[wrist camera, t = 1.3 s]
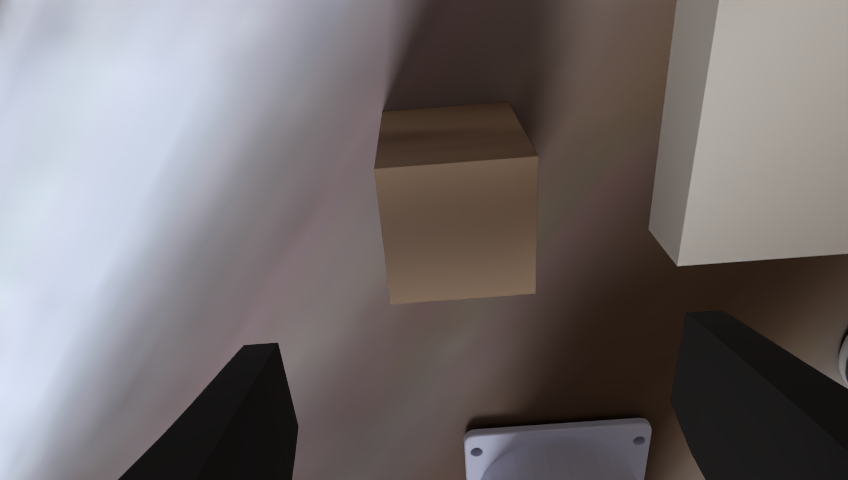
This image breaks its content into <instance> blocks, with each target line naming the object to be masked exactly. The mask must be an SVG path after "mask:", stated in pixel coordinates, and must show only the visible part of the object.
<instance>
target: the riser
mask: <svg viewBox="0 0 848 480" xmlns="http://www.w3.org/2000/svg"><path fill="white" fill-rule="evenodd" d="M648 229H649V231H650V232H651V233H652V235H653V236H654V237H655V238H656V240H657V241H658V242H659V244H660V245H661V246H662V247H663V249H664V250H665V251H666V253H667V254H668V255H669V256H670V258H671V259H672V260H673V262H674V263H675V264H676V265H677V266H688V265H701V264H715V263H728V262H741V261H755V260H768V259H782V258H795V257H809V256H822V255H836V254H848V0H677V4H676V12H675V20H674V28H673V36H672V44H671V52H670V60H669V68H668V76H667V84H666V92H665V100H664V108H663V116H662V124H661V132H660V140H659V148H658V156H657V164H656V172H655V180H654V188H653V196H652V204H651V212H650V220H649V228H648Z"/></svg>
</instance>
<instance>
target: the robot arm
mask: <svg viewBox="0 0 848 480" xmlns="http://www.w3.org/2000/svg"><path fill="white" fill-rule="evenodd" d="M671 402H672V405H673V408H674V410H675V413H676V416H677V418H678V421H679V424H680V426H681V429H682V431H683V434H684V436H685V439H686V441H687V444H688V446H689V449H690V451H691V453H692V455H693V457H694V459H695V461H696V463H697V465H698V467H699V468H700V470H701V472H702V474H703V476H704V478H705V480H848V389H847V388H845V387H844V386H842V385H840V384H839V383H837V382H835V381H834V380H832V379H831V378H829V377H827V376H826V375H824V374H822V373H821V372H819V371H818V370H816V369H814V368H813V367H811V366H810V365H808V364H806V363H805V362H803V361H802V360H800V359H799V358H797V357H795V356H794V355H792V354H791V353H789V352H788V351H786V350H784V349H783V348H781V347H780V346H778V345H777V344H775V343H774V342H772V341H770V340H769V339H767V338H766V337H764V336H763V335H761V334H759V333H758V332H756V331H755V330H753V329H751V328H750V327H748V326H747V325H745V324H743V323H742V322H740V321H739V320H737V319H735V318H734V317H732V316H730V315H728V314H727V313H725V312H723V311H721V310H720V311H706V312H693V313H686V316H685V322H684V327H683V333H682V339H681V344H680V350H679V356H678V361H677V367H676V373H675V378H674V384H673V390H672V395H671ZM651 433H652V428H651V426H650V424H649V422H648V421H647V420H646V419H644V418H629V419H615V420H600V421H586V422H572V423H558V424H543V425H529V426H515V427H501V428H487V429H474V430H470V431H469V432H467V433H466V434H465V436H464V448H465V466H466V480H644V476H645V470H646V464H647V458H648V451H649V445H650V439H651ZM297 434H298V423H297V419H296V415H295V411H294V406H293V402H292V398H291V394H290V390H289V386H288V382H287V378H286V374H285V370H284V366H283V362H282V357H281V353H280V349H279V345H278V343H268V344H254V345H244V346H243V347H242V348H241V349H240V350H239V351H238V352H237V353H236V354H235V356H234V357H233V358H232V359H231V360H230V361H229V362H228V363H227V364H226V366H225V367H224V368H223V369H222V370H221V371H220V372H219V373H218V375H217V376H216V377H215V378H214V379H213V380H212V381H211V382H210V384H209V385H208V386H207V387H206V388H205V389H204V390H203V391H202V393H201V394H200V395H199V396H198V397H197V398H196V399H195V400H194V402H193V403H192V404H191V405H190V406H189V407H188V408H187V409H186V410H185V411H184V412H183V414H182V415H181V416H180V417H179V418H178V419H177V420H176V421H175V422H174V423H173V424H172V425H171V427H170V428H169V429H168V430H167V431H166V432H165V433H164V434H163V435H162V436H161V437H160V438H159V439H158V440H157V441H156V442H155V443H154V444H153V445H152V446H151V447H150V448H149V449H148V450H147V451H146V452H145V453H144V454H143V455H142V456H141V457H140V458H139V459H138V460H137V461H136V462H135V463H134V464H133V465H132V466H131V467H130V468H129V469H128V470H127V471H126V472H125V473H124V474H123V475H122V476H121V477H120V478H119V479H118V480H292V475H293V467H294V460H295V452H296V443H297ZM636 437H638V438H636ZM474 448H479V449H474Z"/></svg>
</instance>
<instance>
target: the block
mask: <svg viewBox="0 0 848 480" xmlns="http://www.w3.org/2000/svg"><path fill="white" fill-rule="evenodd" d="M374 172H375V180H376V188H377V196H378V205H379V213H380V221H381V229H382V237H383V246H384V254H385V262H386V270H387V278H388V286H389V295H390V303H391V304H400V303H414V302H427V301H441V300H455V299H468V298H482V297H495V296H509V295H522V294H535V289H536V244H537V199H538V155H537V153H536V151H535V149H534V147H533V146H532V144H531V142H530V140H529V139H528V137H527V135H526V133H525V131H524V130H523V128H522V126H521V124H520V122H519V121H518V119H517V117H516V115H515V113H514V112H513V110H512V108H511V106H510V105H509V103H508V102H497V103H484V104H471V105H459V106H446V107H433V108H421V109H408V110H395V111H383V112H382V118H381V125H380V132H379V139H378V146H377V153H376V160H375V166H374Z"/></svg>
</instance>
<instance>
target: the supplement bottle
mask: <svg viewBox="0 0 848 480" xmlns="http://www.w3.org/2000/svg"><path fill="white" fill-rule="evenodd" d="M839 369H840V373H841V375H842V377H843V379H844V380H845V382H846V383H847V384H848V335H847V337H846V338H845V340H844V342H843V345H842V347H841V350H840V354H839Z"/></svg>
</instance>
